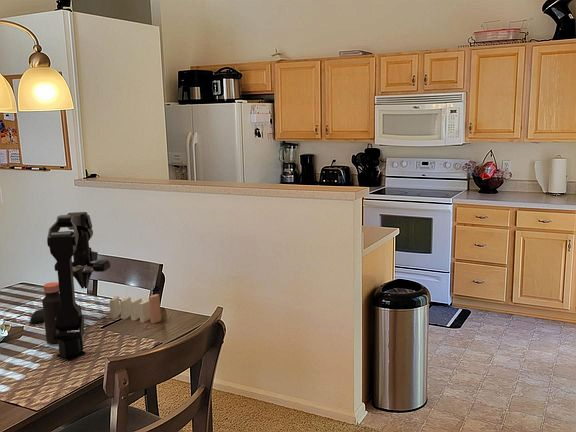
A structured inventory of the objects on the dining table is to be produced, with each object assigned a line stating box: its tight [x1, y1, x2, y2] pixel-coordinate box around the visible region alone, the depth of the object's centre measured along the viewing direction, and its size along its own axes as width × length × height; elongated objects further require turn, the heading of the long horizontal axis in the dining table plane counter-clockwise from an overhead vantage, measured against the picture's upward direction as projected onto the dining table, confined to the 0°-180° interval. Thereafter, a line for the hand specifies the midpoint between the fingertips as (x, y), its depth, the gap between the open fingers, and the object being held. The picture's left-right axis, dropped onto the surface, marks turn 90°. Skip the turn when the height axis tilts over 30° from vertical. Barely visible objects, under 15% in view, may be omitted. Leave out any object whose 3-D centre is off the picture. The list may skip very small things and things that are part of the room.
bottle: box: [41, 281, 68, 345], centre depth 190 cm, size 7×7×20 cm
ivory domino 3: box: [130, 297, 143, 321], centre depth 211 cm, size 2×5×7 cm, turn 158°
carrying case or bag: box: [29, 309, 45, 325], centre depth 212 cm, size 11×3×15 cm
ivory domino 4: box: [139, 298, 150, 323], centre depth 209 cm, size 2×5×7 cm, turn 150°
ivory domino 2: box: [119, 296, 132, 320], centre depth 212 cm, size 2×5×7 cm, turn 165°
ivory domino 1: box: [109, 295, 121, 320], centre depth 213 cm, size 2×5×7 cm, turn 173°
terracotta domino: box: [148, 293, 162, 324], centre depth 206 cm, size 2×4×10 cm, turn 144°
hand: (84, 288), depth 206 cm, fingers closed
